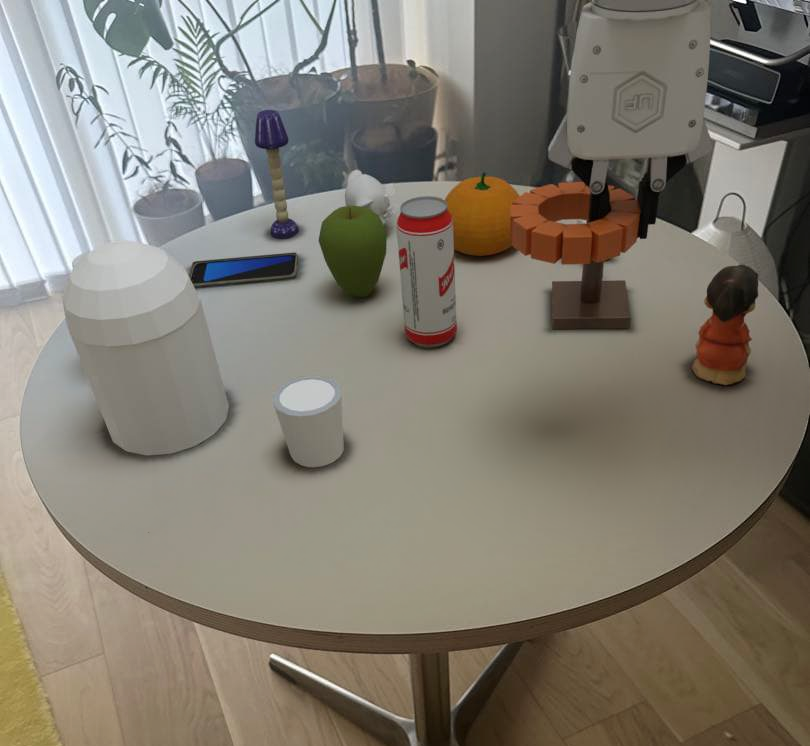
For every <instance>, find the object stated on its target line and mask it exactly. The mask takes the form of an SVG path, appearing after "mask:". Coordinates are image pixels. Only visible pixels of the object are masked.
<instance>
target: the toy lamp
mask: <svg viewBox="0 0 810 746" xmlns="http://www.w3.org/2000/svg"><path fill="white" fill-rule="evenodd" d="M284 125H285V124H284V122H283V120H282V117H281V115H280V113H279V112H278V110H275V109H264V110H261V111H259V112H257V114H256V121H255V133H254V145H255V146H256V147H257V148H259V149H262V150H265V151H266V154H267V163H268V166H269V175H270V178H271V180H270V183H271V188H272V196H273V199H274V208H275V210H276V211H275V216H276V217H275V218H276V220H275V221H274V222H273V223H271V226H270V230H269V231H270V236H272V237H273V238H276V239H287V238H291V237H294V236H296V235H298V233H299V232H300V227H299V226H298V224H297V223H296V221H295V220H293V219H292V218H289V212H288V210H287V209H288V204H287V200H286V197H287V196H286V190H285V187H284V186H285V181H284V178H283V169H282V166H281V164H282V161H281V157H280V149H281V148H283V147H285V146H287V145H288V143H289V135H288V133H287V130H286V128H285V126H284Z"/></svg>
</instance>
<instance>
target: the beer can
mask: <svg viewBox="0 0 810 746" xmlns="http://www.w3.org/2000/svg"><path fill="white" fill-rule="evenodd" d="M399 208H400V209H399V211H400V212H399V215H398V217H397V221H396V236H397V238H396V239H397V248H398V250H397V251H398V262H399V276H400V285H401V286H400V288H401V298H402V310H403V323H404V333H405V336H406V337H407V339H408V340H409V341H411V342H412V343H413V344H415V345H416V346H418V347H421V348H438V347H441V346H443V345H445V344H447V343H448V342H450V340H452V339H453V338H454V337H455V335H456V333H457V331H458V324H457V299H456V298H457V296H456V295H457V294H456V271H455V270H456V268H455V249H454V239H453V219H452V216H451V214H450V212H449V211H448V209H447V203H446V201H445V199H443V198H441V197H438V196H431V195H430V196H429V195H426V196H425V195H423V196H416V197H412V198H410V199H407V200H406V201H404V202H402V203H401V205H400V207H399Z"/></svg>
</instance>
